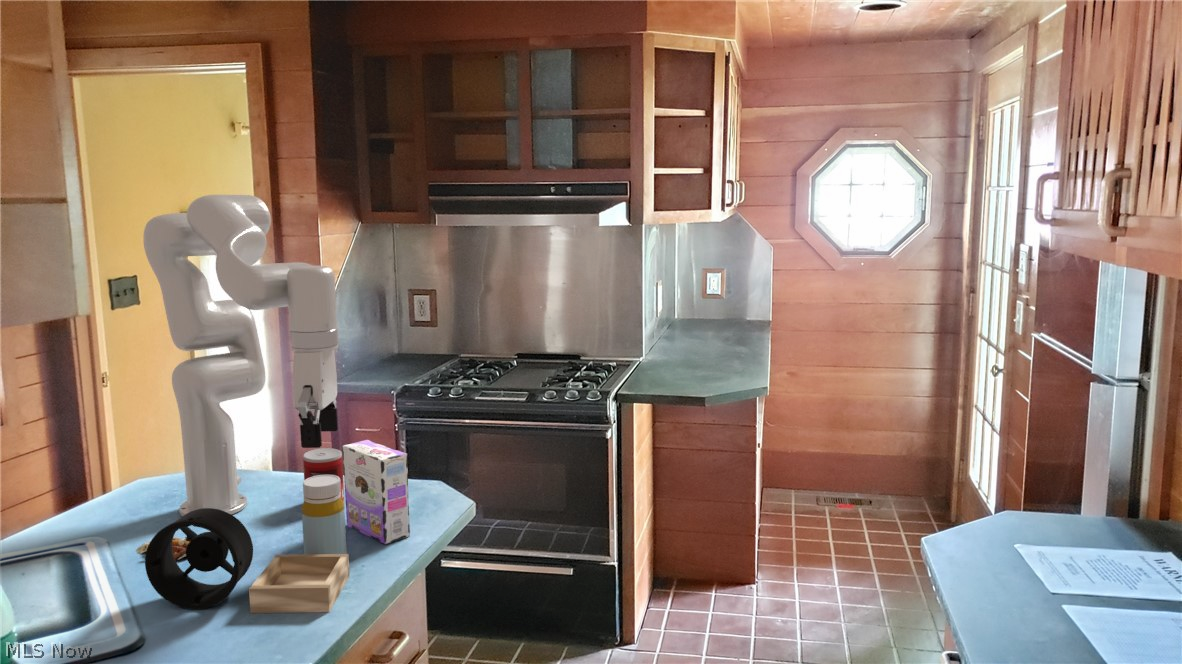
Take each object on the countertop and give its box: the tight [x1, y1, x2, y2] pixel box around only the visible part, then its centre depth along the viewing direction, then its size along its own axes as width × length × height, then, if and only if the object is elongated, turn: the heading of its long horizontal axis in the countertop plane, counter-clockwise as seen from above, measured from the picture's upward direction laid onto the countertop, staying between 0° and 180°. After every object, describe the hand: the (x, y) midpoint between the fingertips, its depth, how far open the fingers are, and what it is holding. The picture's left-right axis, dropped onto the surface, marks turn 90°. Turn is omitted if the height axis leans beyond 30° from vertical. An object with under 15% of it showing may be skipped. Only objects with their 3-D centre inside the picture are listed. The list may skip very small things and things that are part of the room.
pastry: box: [136, 536, 191, 561], centre depth 146 cm, size 7×12×4 cm, turn 80°
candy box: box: [341, 439, 411, 545], centre depth 155 cm, size 14×6×16 cm, turn 47°
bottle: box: [301, 475, 348, 554], centre depth 141 cm, size 7×7×15 cm
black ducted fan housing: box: [144, 508, 254, 610], centre depth 130 cm, size 14×14×10 cm
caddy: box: [248, 553, 350, 614], centre depth 131 cm, size 12×12×4 cm
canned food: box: [302, 447, 345, 502], centre depth 169 cm, size 8×8×11 cm
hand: (320, 438), depth 139 cm, fingers open, 9 cm apart
